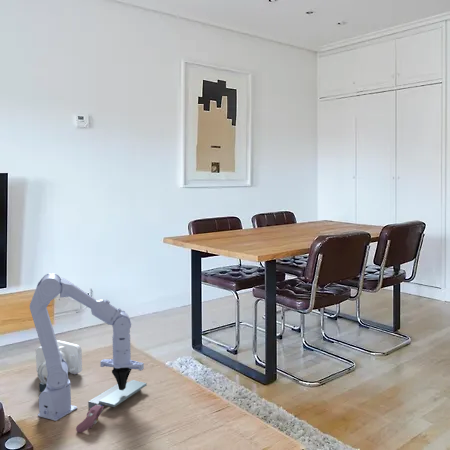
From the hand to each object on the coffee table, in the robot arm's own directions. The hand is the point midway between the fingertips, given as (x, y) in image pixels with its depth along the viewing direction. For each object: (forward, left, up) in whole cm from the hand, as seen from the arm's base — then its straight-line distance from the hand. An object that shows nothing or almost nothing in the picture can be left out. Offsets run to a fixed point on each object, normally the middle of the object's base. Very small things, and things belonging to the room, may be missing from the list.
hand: (122, 388), depth 162 cm
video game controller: (-16, 0, -5) cm, 17 cm away
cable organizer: (+9, +36, -5) cm, 38 cm away
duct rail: (+2, +4, -5) cm, 7 cm away
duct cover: (+2, +1, -2) cm, 3 cm away
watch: (-3, +29, -5) cm, 29 cm away
